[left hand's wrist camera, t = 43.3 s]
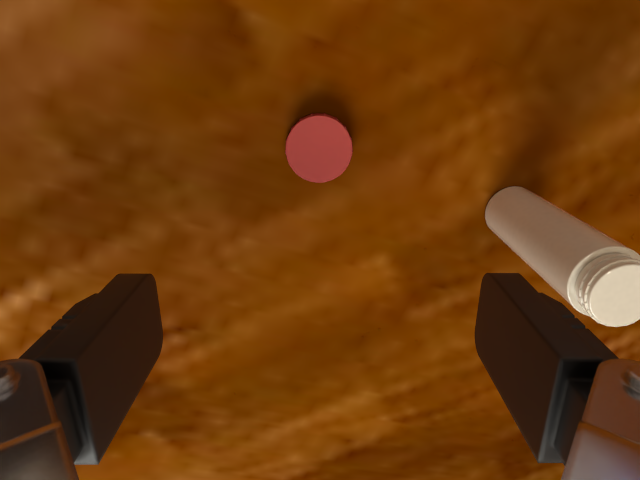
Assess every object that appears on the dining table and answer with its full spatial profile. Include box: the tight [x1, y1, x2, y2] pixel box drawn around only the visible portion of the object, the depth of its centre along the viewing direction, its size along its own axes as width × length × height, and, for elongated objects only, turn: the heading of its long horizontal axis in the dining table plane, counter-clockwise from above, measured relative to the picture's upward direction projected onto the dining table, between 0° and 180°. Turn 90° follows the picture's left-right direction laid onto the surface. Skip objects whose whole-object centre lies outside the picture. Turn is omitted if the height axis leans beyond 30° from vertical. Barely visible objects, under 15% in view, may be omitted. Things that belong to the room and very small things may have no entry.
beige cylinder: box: [485, 186, 640, 327], centre depth 30 cm, size 4×4×15 cm
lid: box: [285, 113, 353, 182], centre depth 35 cm, size 5×5×2 cm
